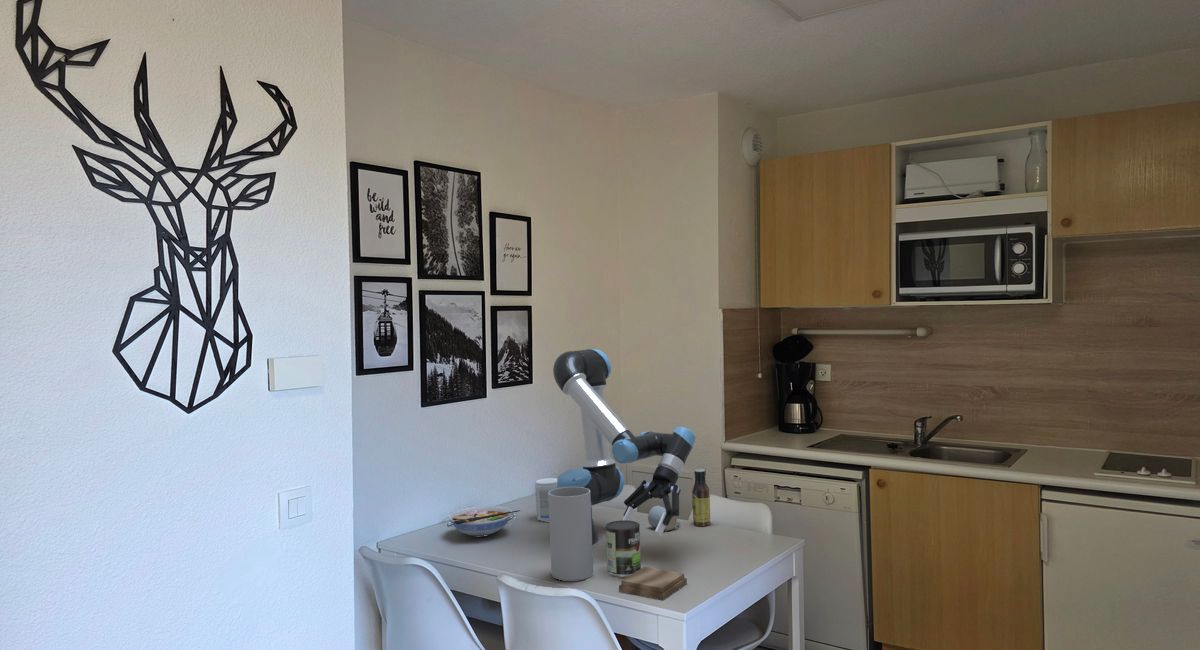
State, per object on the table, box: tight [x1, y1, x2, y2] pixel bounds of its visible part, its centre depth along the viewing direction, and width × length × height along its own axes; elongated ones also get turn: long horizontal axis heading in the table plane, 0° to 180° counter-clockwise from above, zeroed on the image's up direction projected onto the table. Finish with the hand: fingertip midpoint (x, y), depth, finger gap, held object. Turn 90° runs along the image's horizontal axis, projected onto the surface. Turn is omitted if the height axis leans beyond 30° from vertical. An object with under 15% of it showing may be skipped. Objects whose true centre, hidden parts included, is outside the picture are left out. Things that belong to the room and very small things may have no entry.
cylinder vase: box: [548, 487, 594, 582], centre depth 234 cm, size 12×12×25 cm
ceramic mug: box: [647, 505, 681, 532], centre depth 280 cm, size 11×8×8 cm
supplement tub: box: [534, 477, 558, 522], centre depth 298 cm, size 10×10×15 cm
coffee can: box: [605, 519, 642, 578], centre depth 236 cm, size 10×10×14 cm
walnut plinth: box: [618, 566, 688, 601], centre depth 221 cm, size 14×14×3 cm
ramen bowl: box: [448, 505, 521, 537], centre depth 281 cm, size 25×23×8 cm
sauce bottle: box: [691, 468, 711, 527], centre depth 282 cm, size 7×6×20 cm
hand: (640, 530), depth 239 cm, fingers open, 13 cm apart
